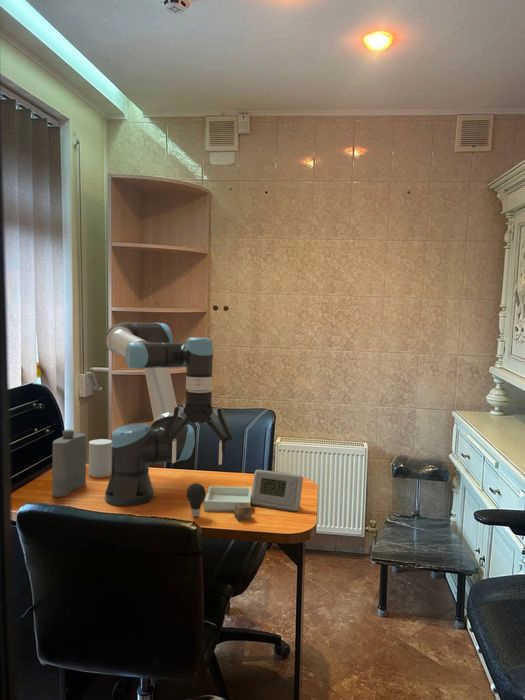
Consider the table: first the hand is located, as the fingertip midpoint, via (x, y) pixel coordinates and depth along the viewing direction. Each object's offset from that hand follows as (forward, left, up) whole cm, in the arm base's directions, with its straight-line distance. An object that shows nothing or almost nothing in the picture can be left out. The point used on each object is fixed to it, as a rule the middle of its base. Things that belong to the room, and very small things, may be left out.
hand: (197, 462), depth 152 cm
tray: (+9, +12, -16) cm, 22 cm away
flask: (-45, +20, -16) cm, 52 cm away
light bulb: (0, 0, -16) cm, 16 cm away
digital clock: (+24, +11, -17) cm, 31 cm away
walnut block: (+14, 0, -16) cm, 21 cm away
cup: (-40, +38, -16) cm, 58 cm away
